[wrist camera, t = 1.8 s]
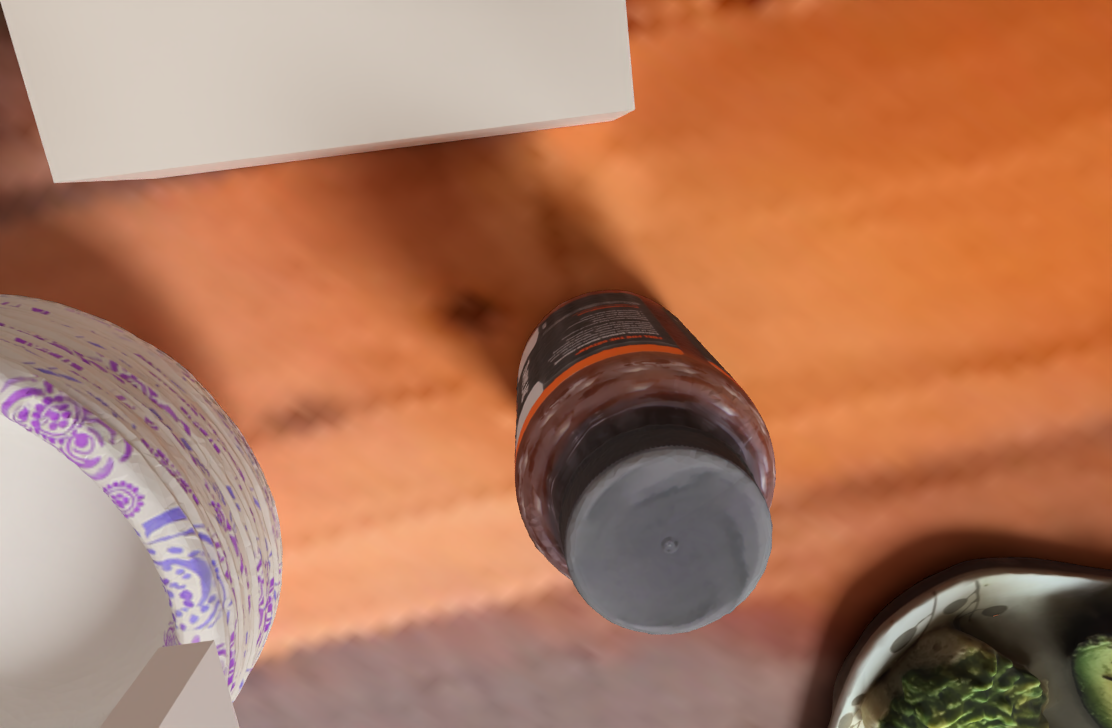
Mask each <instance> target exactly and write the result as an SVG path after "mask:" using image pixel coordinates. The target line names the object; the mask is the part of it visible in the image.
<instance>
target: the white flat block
mask: <svg viewBox="0 0 1112 728" xmlns="http://www.w3.org/2000/svg"><path fill="white" fill-rule="evenodd" d="M0 2H1V5H2V9H3V12H4V15H5V19H6V22H7V26H8V29H9V32H10V36H11V39H12V42H13V46H14V49H15V53H16V56H17V59H18V63H19V66H20V69H21V73H22V76H23V80H24V83H25V86H26V90H27V93H28V96H29V100H30V103H31V107H32V110H33V113H34V117H35V120H36V123H37V127H38V130H39V134H40V137H41V140H42V144H43V147H44V150H45V154H46V157H47V161H48V164H49V167H50V171H51V174H52V177H53V181H54V183H66V182H89V181H111V180H134V179H156V178H164V177H172V176H180V175H188V174H196V173H204V172H212V171H220V170H227V169H235V168H243V167H251V166H259V165H267V164H275V163H283V162H291V161H299V160H307V159H314V158H322V157H330V156H338V155H346V154H354V153H362V152H370V151H378V150H386V149H394V148H401V147H409V146H417V145H425V144H433V143H441V142H449V141H457V140H465V139H473V138H481V137H488V136H496V135H504V134H512V133H520V132H528V131H536V130H544V129H552V128H560V127H568V126H576V125H583V124H591V123H599V122H607V121H613V120H615V119H617V118H619V117H621V116H623V115H625V114H627V113H629V112H631V111H633V110H635V104H634V92H633V81H632V70H631V58H630V47H629V36H628V24H627V13H626V2H625V0H0Z"/></svg>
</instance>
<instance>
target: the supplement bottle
mask: <svg viewBox="0 0 1112 728" xmlns="http://www.w3.org/2000/svg"><path fill="white" fill-rule="evenodd" d="M515 438H516V441H515V487H516V496H517V502H518V506H519V510H520V514H521V517H522V519H523V521H524V524H525V527H526V529H527V531H528V533H529V536H530V538H531V539H532V541H533V542H534V544H535V547H536V548H537V549H538V550H539V551H540V552H541V553H542V554H543V555H544V556H545V557H546V558H547V560H548V561H549V562H550V563H551V564H552V565H554V566H555V567H556V568H557V569H558V570H559V571H560V572H561V573H562V574H564V575H565V576H567V577H568V578H569V579H571V580H572V581H573V583H574V585H575V587H576V589H577V590H578V592H579V594H580V595H581V596H582V597H583V599H584V600H585V601H586V602H587V604H588V605H589V606H591V607H592V608H593V609H594V610H595V611H596V612H598V613H599V614H600V615H601V616H603V617H604V618H606V619H607V620H609V621H610V622H612V623H614V624H617V625H619V626H621V627H623V628H627V629H630V630H634V631H638V632H645V633H648V634H675V633H683V632H689V631H692V630H695V629H698V628H700V627H703V626H705V625H708V624H710V623H712V622H714V621H716V620H718V619H720V618H721V617H722V616H724V615H725V614H729V613H731V612H732V611H733V610H734V609H735V607H736V606H738V605H739V604H740V603H741V602H743V601H744V600H745V599H746V598H747V597H748V596H749V594H750V593H751V592H752V591H753V590H754V589H755V587H756V585H757V583H758V581H759V580H760V578H761V576H762V574H763V573H764V571H765V569H766V565H767V562H768V559H769V556H770V553H771V549H772V521H771V516H770V511H769V509H770V506H771V503H772V498H773V492H774V487H775V480H776V477H775V474H776V470H775V458H774V452H773V447H772V443H771V439H770V436H769V432H768V430H767V428H766V425H765V423H764V421H763V419H762V417H761V415H760V413H759V412H758V410H757V408H756V407H755V405H754V403H753V402H752V401H751V399H750V398H749V397H748V395H747V394H746V393H745V391H744V390H743V389H742V388H741V387H740V386H739V385H738V384H737V383H736V381H735V380H734V379H733V378H732V376H731V375H730V374H729V373H728V372H727V371H726V370H725V369H724V368H723V367H722V366H721V365H720V364H719V363H718V361H717V360H716V359H715V358H714V357H713V356H712V355H711V354H710V353H709V352H708V351H707V350H706V349H705V348H704V346H703V345H702V344H701V343H700V342H699V341H698V340H697V339H696V337H695V336H694V335H693V334H692V333H691V332H690V331H689V330H688V329H687V328H686V327H685V326H684V325H683V324H682V323H681V321H679V319H678V318H677V317H675V316H674V315H673V314H671V313H670V312H669V311H668V310H666V309H665V308H664V307H662V306H661V305H659V304H657V303H656V302H654V301H652V300H650V299H648V298H646V297H643V296H641V295H638V294H635V293H632V292H628V291H621V290H604V291H595V292H589V293H586V294H582V295H579V296H577V297H574V298H572V299H570V300H568V301H565V302H564V303H562V304H560V305H559V306H557V307H556V308H555V309H553V310H552V311H551V312H550V313H549V314H548V315H546V316H545V317H544V318H543V320H542V321H541V322H540V323H539V324H538V326H537V327H536V328H535V330H534V331H533V332H532V334H531V336H530V338H529V339H528V341H527V343H526V346H525V348H524V351H523V353H522V358H521V362H520V366H519V372H518V378H517V419H516V435H515Z"/></svg>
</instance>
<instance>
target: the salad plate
mask: <svg viewBox="0 0 1112 728" xmlns="http://www.w3.org/2000/svg"><path fill="white" fill-rule="evenodd" d="M998 614H999V615H998ZM994 615H997V616H994ZM828 728H1112V570H1108V569H1100V568H1093V567H1087V566H1081V565H1076V564H1070V563H1064V562H1059V561H1052V560H1044V559H1037V558H1027V557H1008V558H983V559H974V560H969V561H964V562H962V563H959V564H956V565H954V566H952V567H950V568H948V569H945V570H943V571H941V572H939V573H937V574H935V575H932V576H930V577H928V578H926V579H924V580H922V581H920V582H919V583H917V584H915V585H914V586H912V587H911V588H909V589H908V590H906V591H905V592H904V593H902V594H901V595H900V596H898V597H897V598H896V599H894V600H893V601H892V602H891V603H890V604H889V605H888V606H886V607H885V608H884V609H883V610H882V611H881V612H880V613H879V614H878V615H877V616H876V617H875V618H874V619H873V621H872V622H871V623H870V624H869V625H868V626H867V628H866V629H865V630H864V632H863V634H862V635H861V637H860V639H859V640H858V642H857V643H856V645H855V646H854V648H853V649H852V651H851V652H850V653H849V655H848V656H847V658H846V659H845V661H844V663H843V665H842V667H841V669H840V671H839V674H838V676H837V678H836V681H835V684H834V690H833V706H832V715H831V719H830V722H829V725H828Z"/></svg>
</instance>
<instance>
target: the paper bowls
mask: <svg viewBox="0 0 1112 728" xmlns="http://www.w3.org/2000/svg"><path fill="white" fill-rule="evenodd" d="M281 578H282V541H281V532H280V524H279V518H278V514H277V510H276V506H275V501H274V499H273V496H272V493H271V491H270V488H269V486H268V484H267V482H266V479H265V476H264V474H263V472H262V469H261V467H260V465H259V463H258V461H257V459H256V457H255V455H254V454H253V452H252V450H251V448H250V447H249V445H248V443H247V441H246V440H245V438H244V436H243V435H242V433H241V431H240V430H239V428H238V427H237V426H236V425H235V424H234V422H233V421H232V420H231V419H230V418H229V416H228V415H227V414H226V413H225V412H224V410H223V409H222V408H221V407H220V406H219V404H218V403H217V402H216V401H215V400H214V398H213V397H212V396H211V394H210V393H209V392H208V391H207V390H206V389H205V388H204V387H203V386H202V385H201V384H200V383H199V382H198V381H197V380H196V379H195V377H194V376H193V375H192V374H191V373H190V372H188V371H187V370H186V369H185V368H184V367H183V366H181V365H180V364H179V363H178V362H176V361H175V360H174V359H172V358H171V357H169V356H168V355H167V354H166V353H164V352H162V351H161V350H159V349H157V348H156V347H155V346H153V345H151V344H149V343H147V342H145V341H143V340H141V339H140V338H138V337H136V336H135V335H134V334H132V333H130V332H128V331H127V330H125V329H123V328H121V327H119V326H117V325H115V324H113V323H111V322H109V321H107V320H104V319H102V318H99V317H97V316H94V315H91V314H88V313H85V312H82V311H80V310H78V309H75V308H72V307H69V306H66V305H63V304H60V303H56V302H52V301H46V300H42V299H38V298H30V297H26V296H18V295H6V294H0V728H100V726H101V725H102V724H103V722H104V721H105V720H106V718H107V717H108V716H109V714H110V713H111V711H112V710H113V709H114V707H115V706H116V705H117V703H118V702H119V701H120V699H121V698H122V697H123V695H124V694H125V693H126V691H127V690H128V688H129V687H130V686H131V684H132V683H133V682H134V680H135V679H136V678H137V676H138V675H139V674H140V672H141V671H142V670H143V668H144V667H145V665H146V664H147V663H148V661H149V660H150V659H151V657H152V656H153V655H154V653H155V652H156V651H157V649H158V648H159V647H167V646H174V645H182V644H189V643H197V642H204V641H211V640H214V641H215V645H216V648H217V652H218V655H219V659H220V662H221V666H222V669H223V672H224V676H225V679H226V683H227V686H228V690H229V693H230V697H231V700H232V703H233V702H234V701H235V699H236V697H237V695H238V694H239V692H240V691H241V689H242V687H243V685H244V683H245V681H246V679H247V677H248V675H249V673H250V672H251V670H252V668H253V667H254V665H255V663H256V661H257V660H258V658H259V656H260V654H261V651H262V649H263V647H264V644H265V642H266V640H267V637H268V634H269V632H270V629H271V627H272V624H273V621H274V618H275V615H276V610H277V607H278V602H279V597H280V590H281V585H282V580H281Z"/></svg>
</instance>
